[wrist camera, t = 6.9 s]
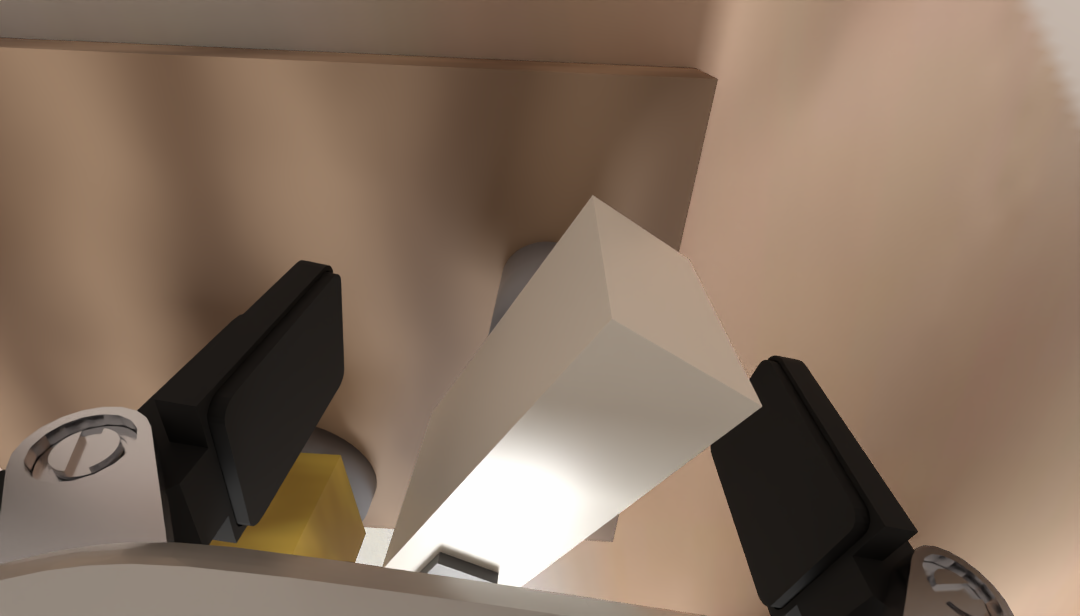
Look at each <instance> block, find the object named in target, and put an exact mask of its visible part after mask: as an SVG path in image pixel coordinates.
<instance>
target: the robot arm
mask: <svg viewBox="0 0 1080 616" xmlns="http://www.w3.org/2000/svg"><path fill="white" fill-rule="evenodd" d="M343 376H344V344H343V316H342V288H341V277H340V275H339V274H335V273H333V269H332V267H331V266H330V265H325V264H320V263H315V262H310V261H305V260H300V261H298V262H297V263H296V264H295V265H294V266H293V267H292V268H291V269H290V270H289V271H288V272H286V273H285V274H284V275H283V276H282V277H281V278H280V279H279V280H278V281H277V282H276V283H275V284H274V285H273V286H272V287H271V288H270V289H269V290H268V291H267V292H266V293H265V294H263V295H262V296H261V297H260V298H259V299H258V300H257V301H256V302H255V303H254V304H253V305H252V306H251V307H250V308H249V309H248V310H247V311H246V312H245V313H244V314H241V315H239V316H237V317H236V318H235V319H233V320H232V321H231V322H230V323H229V324H228V325H227V326H226V327H225V328H224V329H223V330H222V331H221V332H219V333H218V334H217V335H216V336H215V337H214V338H213V339H212V340H211V341H210V342H209V343H208V344H207V345H206V346H205V347H204V348H203V349H201V350H200V351H199V352H198V353H197V354H196V355H195V356H194V357H193V358H192V359H191V360H190V361H189V362H188V363H187V364H186V365H185V366H184V367H182V368H181V369H180V370H179V371H178V372H177V373H176V374H175V375H174V376H173V377H172V378H171V379H170V380H169V381H168V382H167V383H166V384H164V385H163V386H162V387H161V388H160V389H159V390H158V391H157V392H156V393H155V394H154V395H153V396H152V397H151V398H150V399H149V400H148V401H146V402H145V403H144V404H143V405H142V406H141V407H140V408H139V409H138V410H132V409H128V408H124V407H99V408H93V409H87V410H82V411H79V412H76V413H73V414H70V415H67V416H64V417H61V418H59V419H57V420H55V421H53V422H51V423H49V424H47V425H45V426H43V427H41V428H39V429H38V430H37V431H35V432H34V433H33V434H31V435H30V436H28V437H27V438H26V439H24V440H23V441H22V442H21V444H20V445H19V446H18V447H17V448H16V449H15V450H14V451H13V453H12V454H11V456H10V459H9V461H8V464H7V466H6V469H5V470H2V471H0V616H705V615H699V614H693V613H686V612H680V611H673V610H667V609H660V608H654V607H647V606H641V605H634V604H628V603H621V602H614V601H608V600H601V599H595V598H588V597H582V596H575V595H568V594H562V593H555V592H548V591H542V590H535V589H529V588H522V587H515V586H509V585H502V584H495V583H489V582H482V581H475V580H468V579H461V578H454V577H448V576H441V575H434V574H427V573H420V572H413V571H407V570H400V569H393V568H386V567H379V566H372V565H366V564H359V563H352V562H345V561H338V560H330V559H323V558H315V557H307V556H299V555H291V554H284V553H276V552H268V551H260V550H253V549H245V548H237V547H227V546H214V545H209V544H210V543H211V541H212V540H217V541H223V542H230V543H237V542H238V540H239V539H240V537H241V535H242V534H243V532H244V530H245V529H246V527H247V526H255V525H257V524H258V522H259V521H260V520H261V518H262V517H263V515H264V514H265V512H266V510H267V509H268V507H269V505H270V503H271V502H272V500H273V498H274V497H275V495H276V493H277V492H278V490H279V488H280V487H281V485H282V483H283V481H284V480H285V478H286V476H287V475H288V473H289V471H290V470H291V468H292V466H293V465H294V463H295V461H296V459H297V458H298V456H299V454H300V453H301V451H302V449H303V448H304V446H305V444H306V443H307V441H308V439H309V437H310V436H311V434H312V432H313V431H314V429H315V427H316V426H317V424H318V422H319V421H320V419H321V417H322V415H323V414H324V412H325V410H326V409H327V407H328V405H329V404H330V402H331V400H332V399H333V397H334V395H335V393H336V392H337V390H338V388H339V387H340V385H341V382H342V380H343ZM750 382H751V384H752V386H753V388H754V390H755V392H756V394H757V396H758V398H759V400H760V402H761V404H762V407H761V408H760V409H758V410H757V411H756V412H754V413H753V414H752V415H750V416H749V417H748V418H746V419H745V420H744V421H742V422H741V423H740V424H738V425H737V426H736V427H734V428H733V429H732V430H730V431H729V432H728V433H726V434H725V435H723V436H722V437H721V438H719V439H718V440H717V441H715V442H714V443H713V444H711V453H712V457H713V460H714V463H715V466H716V469H717V472H718V475H719V478H720V481H721V484H722V487H723V490H724V493H725V496H726V499H727V502H728V505H729V508H730V511H731V514H732V517H733V520H734V523H735V526H736V529H737V532H738V535H739V538H740V541H741V544H742V547H743V550H744V553H745V557H746V560H747V563H748V566H749V569H750V572H751V575H752V578H753V581H754V584H755V587H756V590H757V593H758V595H759V598H760V600H761V601H762V603H763V604H764V605H766V606H767V607H768V609H769V612H770V615H771V616H1014V615H1013V613H1012V611H1011V610H1010V608H1009V606H1008V604H1007V602H1006V601H1005V599H1004V598H1003V597H1002V596H1001V594H1000V593H999V592H998V591H997V589H996V588H995V587H994V586H993V585H992V584H991V583H990V582H989V581H988V580H987V579H986V578H985V577H984V576H983V575H982V574H981V573H980V572H979V571H978V570H976V569H975V568H974V567H972V566H971V565H970V564H968V563H967V562H966V561H964V560H963V559H961V558H959V557H958V556H956V555H954V554H952V553H951V552H949V551H946V550H944V549H941V548H938V547H935V546H926V545H923V546H921V547H918V548H916V549H915V550H913V548H912V546H911V545H910V543H909V542H908V540H909V539H910V538H911V537H913V536H914V535H915V534H916V533H917V532H918V531H917V529H916V528H915V526H914V525H913V524H912V522H911V521H910V519H909V518H908V516H907V515H906V513H905V512H904V510H903V509H902V507H901V506H900V504H899V503H898V501H897V500H896V498H895V497H894V495H893V494H892V492H891V491H890V489H889V488H888V487H887V485H886V484H885V482H884V481H883V479H882V478H881V476H880V475H879V473H878V472H877V470H876V469H875V467H874V466H873V464H872V463H871V461H870V460H869V458H868V457H867V455H866V454H865V452H864V451H863V450H862V448H861V447H860V445H859V444H858V442H857V441H856V439H855V438H854V436H853V435H852V433H851V432H850V430H849V429H848V427H847V426H846V424H845V423H844V421H843V420H842V418H841V417H840V415H839V414H838V413H837V411H836V410H835V408H834V407H833V405H832V404H831V402H830V401H829V399H828V398H827V396H826V395H825V393H824V392H823V390H822V389H821V387H820V386H819V384H818V383H817V381H816V380H815V378H814V377H813V376H812V374H811V373H810V371H809V370H808V368H807V367H806V365H805V364H804V363H803V362H802V361H800V360H796V359H791V358H786V357H781V356H772V357H770V358H769V359H768V360H764V361H762V362H761V363H760V364H759V365H758V367H757V369H756V370H755V372H754V373H753V375H752V376H751V378H750Z"/></svg>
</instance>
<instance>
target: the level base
mask: <svg viewBox="0 0 1080 616" xmlns="http://www.w3.org/2000/svg"><path fill="white" fill-rule="evenodd" d="M717 81H718V79H717V78H715V77H712V76H710V75H708V74H706V73H704V72H702V71H700V70H698V69H696V68H677V67H654V66H631V65H608V64H586V63H563V62H540V61H518V60H495V59H472V58H449V57H427V56H404V55H381V54H358V53H336V52H313V51H290V50H268V49H245V48H222V47H199V46H177V45H154V44H131V43H109V42H86V41H63V40H40V39H18V38H0V467H1V468H2V469H3V470H5V469H6V466H7V464H8V461H9V459H10V456H11V454H12V453H13V451H14V450H15V449H16V448H17V447H18V446H19V445H20V444H21V442H22V441H23V440H24V439H26V438H27V437H28V436H30V435H31V434H33V433H34V432H35V431H37V430H38V429H39V428H41V427H43V426H45V425H47V424H49V423H51V422H53V421H55V420H57V419H59V418H61V417H64V416H67V415H70V414H73V413H76V412H79V411H82V410H87V409H93V408H99V407H124V408H128V409H132V410H138V409H139V408H140V407H141V406H142V405H143V404H144V403H145V402H146V401H148V400H149V399H150V398H151V397H152V396H153V395H154V394H155V393H156V392H157V391H158V390H159V389H160V388H161V387H162V386H163V385H164V384H166V383H167V382H168V381H169V380H170V379H171V378H172V377H173V376H174V375H175V374H176V373H177V372H178V371H179V370H180V369H181V368H182V367H184V366H185V365H186V364H187V363H188V362H189V361H190V360H191V359H192V358H193V357H194V356H195V355H196V354H197V353H198V352H199V351H200V350H201V349H203V348H204V347H205V346H206V345H207V344H208V343H209V342H210V341H211V340H212V339H213V338H214V337H215V336H216V335H217V334H218V333H219V332H221V331H222V330H223V329H224V328H225V327H226V326H227V325H228V324H229V323H230V322H231V321H232V320H233V319H235V318H236V317H237V316H239V315H241V314H244V313H245V312H246V311H247V310H248V309H249V308H250V307H251V306H252V305H253V304H254V303H255V302H256V301H257V300H258V299H259V298H260V297H261V296H262V295H263V294H265V293H266V292H267V291H268V290H269V289H270V288H271V287H272V286H273V285H274V284H275V283H276V282H277V281H278V280H279V279H280V278H281V277H282V276H283V275H284V274H285V273H286V272H288V271H289V270H290V269H291V268H292V267H293V266H294V265H295V264H296V263H297V262H298V261H300V260H305V261H310V262H315V263H320V264H325V265H330V266H331V267H332V269H333V273H335V274H339V275H340V277H341V288H342V316H343V344H344V376H343V380H342V382H341V385H340V387H339V388H338V390H337V392H336V393H335V395H334V397H333V399H332V400H331V402H330V404H329V405H328V407H327V409H326V410H325V412H324V414H323V415H322V417H321V419H320V421H319V422H318V424H317V426H316V427H315V429H314V431H313V432H312V434H311V436H310V437H309V439H308V441H307V443H306V444H305V446H304V448H303V449H302V451H301V453H300V454H299V456H298V458H297V459H296V461H295V463H294V465H293V466H292V468H291V470H290V471H289V473H288V475H287V476H286V478H285V480H284V481H283V483H282V485H281V487H280V488H279V490H278V492H277V493H276V495H275V497H274V498H273V500H272V502H271V503H270V505H269V507H268V509H267V510H266V512H265V514H264V515H263V517H262V518H261V520H260V521H259V522H258V524H257V525H255V526H247V527H246V529H245V530H244V532H243V534H242V535H241V537H240V539H239V540H238V542H237V543H230V542H223V541H217V540H212V541H211V543H210V544H209V545H214V546H227V547H237V548H245V549H253V550H260V551H268V552H276V553H284V554H291V555H299V556H307V557H315V558H323V559H330V560H338V561H345V562H352V563H355V561H356V558H357V556H358V553H359V550H360V548H361V545H362V542H363V540H364V537H365V534H366V532H365V529H364V527H372V528H388V529H395V526H396V523H397V520H398V517H399V514H400V510H401V507H402V504H403V501H404V498H405V495H406V492H407V489H408V485H409V482H410V479H411V476H412V473H413V470H414V467H415V464H416V460H417V457H418V454H419V451H420V448H421V445H422V442H423V439H424V435H425V432H426V429H427V426H428V423H429V420H430V417H431V414H432V411H433V410H434V409H435V407H436V406H437V405H438V403H439V402H440V401H441V399H442V398H443V397H444V395H445V394H446V392H447V391H448V390H449V388H450V387H451V386H452V384H453V383H454V382H455V380H456V379H457V378H458V376H459V375H460V374H461V372H462V371H463V370H464V368H465V367H466V365H467V364H468V363H469V361H470V360H471V359H472V357H473V356H474V355H475V353H476V352H477V351H478V349H479V348H480V347H481V345H482V344H483V342H484V341H485V340H486V338H487V337H488V334H489V330H490V325H491V321H492V316H493V312H494V307H495V303H496V298H497V294H498V290H499V285H500V281H501V276H502V272H503V269H504V266H505V264H506V263H507V261H508V260H509V258H510V257H511V256H512V255H513V254H514V253H515V252H516V251H518V250H519V249H521V248H523V247H525V246H527V245H529V244H533V243H537V242H557V243H558V241H559V240H560V239H561V237H562V236H563V234H564V233H565V232H566V230H567V229H568V228H569V226H570V225H571V224H572V222H573V221H574V220H575V218H576V217H577V216H578V214H579V213H580V212H581V210H582V209H583V207H584V206H585V205H586V203H587V202H588V201H589V199H590V198H591V197H592V195H593V196H595V197H596V198H598V199H599V200H601V201H602V202H604V203H605V204H607V205H608V206H610V207H611V208H613V209H614V210H616V211H617V212H619V213H620V214H622V215H623V216H625V217H626V218H628V219H629V220H631V221H632V222H634V223H635V224H637V225H638V226H640V227H641V228H643V229H644V230H646V231H647V232H649V233H650V234H652V235H653V236H655V237H656V238H658V239H659V240H661V241H662V242H664V243H665V244H667V245H669V246H670V247H672V248H673V249H675V250H676V251H678V252H679V248H680V243H681V239H682V235H683V230H684V226H685V221H686V217H687V213H688V208H689V204H690V199H691V195H692V191H693V186H694V182H695V177H696V173H697V169H698V164H699V160H700V155H701V151H702V147H703V142H704V138H705V133H706V129H707V125H708V120H709V116H710V111H711V107H712V103H713V98H714V94H715V89H716V85H717ZM618 517H619V514H618V515H616V516H615V517H614V518H612V519H611V520H610V521H608V522H607V523H606V524H604V525H603V526H602V527H600V528H599V529H598V530H596V531H595V532H594V533H592V534H591V535H590V536H588V537H587V538H586V539H584V540H590V541H607V542H613V539H614V534H615V530H616V525H617V521H618Z"/></svg>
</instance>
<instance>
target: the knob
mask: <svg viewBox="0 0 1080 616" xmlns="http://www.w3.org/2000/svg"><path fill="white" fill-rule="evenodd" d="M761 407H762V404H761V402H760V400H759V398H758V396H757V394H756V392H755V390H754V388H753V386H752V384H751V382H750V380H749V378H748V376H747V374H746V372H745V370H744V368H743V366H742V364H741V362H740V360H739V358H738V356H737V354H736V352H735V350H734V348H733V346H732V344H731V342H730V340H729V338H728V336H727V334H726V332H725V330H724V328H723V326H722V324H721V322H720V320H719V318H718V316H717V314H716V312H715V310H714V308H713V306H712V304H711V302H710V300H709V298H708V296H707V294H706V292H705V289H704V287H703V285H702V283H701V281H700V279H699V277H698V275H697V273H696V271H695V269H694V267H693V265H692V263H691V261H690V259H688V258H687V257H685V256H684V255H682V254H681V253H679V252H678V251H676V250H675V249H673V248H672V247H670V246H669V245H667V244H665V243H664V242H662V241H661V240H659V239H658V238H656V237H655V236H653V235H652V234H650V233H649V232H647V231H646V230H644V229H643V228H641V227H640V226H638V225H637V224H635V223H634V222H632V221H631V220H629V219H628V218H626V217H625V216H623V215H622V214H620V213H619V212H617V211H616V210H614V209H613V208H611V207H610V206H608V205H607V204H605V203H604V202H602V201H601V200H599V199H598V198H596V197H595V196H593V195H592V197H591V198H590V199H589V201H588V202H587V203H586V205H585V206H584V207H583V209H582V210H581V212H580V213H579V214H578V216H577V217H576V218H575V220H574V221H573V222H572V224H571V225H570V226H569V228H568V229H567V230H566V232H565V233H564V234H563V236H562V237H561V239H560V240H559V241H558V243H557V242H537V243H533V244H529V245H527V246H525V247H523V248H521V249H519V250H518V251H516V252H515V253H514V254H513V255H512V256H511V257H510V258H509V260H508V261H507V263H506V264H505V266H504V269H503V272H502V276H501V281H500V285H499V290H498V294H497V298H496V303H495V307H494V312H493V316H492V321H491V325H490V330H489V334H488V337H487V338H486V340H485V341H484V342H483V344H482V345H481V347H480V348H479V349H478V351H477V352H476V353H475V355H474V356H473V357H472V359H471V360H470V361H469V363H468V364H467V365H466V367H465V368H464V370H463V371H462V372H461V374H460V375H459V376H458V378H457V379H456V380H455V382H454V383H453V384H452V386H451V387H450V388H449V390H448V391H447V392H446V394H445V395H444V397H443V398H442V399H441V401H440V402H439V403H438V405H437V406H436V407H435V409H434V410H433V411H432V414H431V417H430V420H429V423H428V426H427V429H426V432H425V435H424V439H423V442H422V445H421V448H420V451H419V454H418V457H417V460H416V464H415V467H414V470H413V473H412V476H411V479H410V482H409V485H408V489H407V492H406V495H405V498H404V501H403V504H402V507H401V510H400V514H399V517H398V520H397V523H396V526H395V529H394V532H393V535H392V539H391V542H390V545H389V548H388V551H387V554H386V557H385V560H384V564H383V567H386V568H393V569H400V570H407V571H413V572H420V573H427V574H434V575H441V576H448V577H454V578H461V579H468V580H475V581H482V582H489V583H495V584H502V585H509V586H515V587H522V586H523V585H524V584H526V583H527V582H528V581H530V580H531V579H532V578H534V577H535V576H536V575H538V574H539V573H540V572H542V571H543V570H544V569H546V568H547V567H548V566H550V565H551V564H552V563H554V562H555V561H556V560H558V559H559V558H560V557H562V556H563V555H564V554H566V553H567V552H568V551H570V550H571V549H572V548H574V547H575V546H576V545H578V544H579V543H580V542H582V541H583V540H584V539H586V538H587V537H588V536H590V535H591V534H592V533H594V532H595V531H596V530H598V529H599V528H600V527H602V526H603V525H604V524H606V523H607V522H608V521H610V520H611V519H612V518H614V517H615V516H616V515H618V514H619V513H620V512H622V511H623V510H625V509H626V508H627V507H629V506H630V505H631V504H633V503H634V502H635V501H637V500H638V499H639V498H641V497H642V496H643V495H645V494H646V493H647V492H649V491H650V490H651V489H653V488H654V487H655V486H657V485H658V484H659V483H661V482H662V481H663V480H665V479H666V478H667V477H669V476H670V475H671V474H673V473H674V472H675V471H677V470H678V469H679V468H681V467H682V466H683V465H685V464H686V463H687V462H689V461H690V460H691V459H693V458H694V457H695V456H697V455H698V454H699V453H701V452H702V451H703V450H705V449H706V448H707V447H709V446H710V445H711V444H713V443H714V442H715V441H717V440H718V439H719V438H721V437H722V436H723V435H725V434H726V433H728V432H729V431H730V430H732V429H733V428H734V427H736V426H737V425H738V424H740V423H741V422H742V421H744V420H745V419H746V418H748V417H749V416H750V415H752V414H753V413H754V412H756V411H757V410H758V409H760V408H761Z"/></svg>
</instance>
